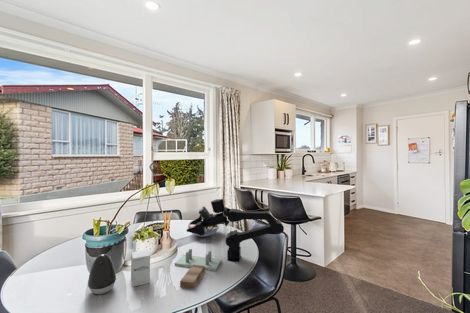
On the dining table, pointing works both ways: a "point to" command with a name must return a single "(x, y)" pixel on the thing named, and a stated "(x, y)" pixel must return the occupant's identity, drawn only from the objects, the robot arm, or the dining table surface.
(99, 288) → the tapered speaker
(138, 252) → the supplement box
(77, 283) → the dining table surface
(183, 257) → the peg base
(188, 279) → the brown rectangular block
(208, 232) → the ramen bowl
